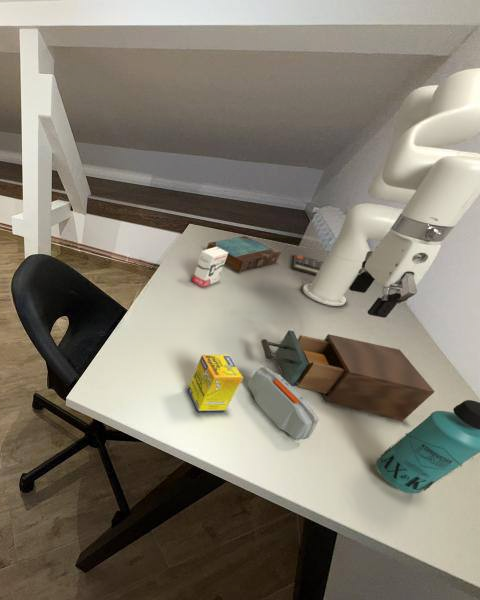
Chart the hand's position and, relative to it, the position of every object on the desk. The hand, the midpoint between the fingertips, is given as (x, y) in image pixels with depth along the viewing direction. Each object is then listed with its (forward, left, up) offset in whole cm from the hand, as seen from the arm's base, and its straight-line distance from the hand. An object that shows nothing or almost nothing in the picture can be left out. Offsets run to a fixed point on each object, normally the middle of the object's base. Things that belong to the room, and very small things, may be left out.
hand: (365, 302), depth 68 cm
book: (-51, -32, -19) cm, 63 cm away
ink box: (-20, -37, -19) cm, 46 cm away
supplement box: (+32, -20, -19) cm, 42 cm away
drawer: (+9, -5, -18) cm, 21 cm away
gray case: (+26, -8, -19) cm, 33 cm away
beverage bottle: (+27, +12, -19) cm, 35 cm away
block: (+9, -3, -17) cm, 19 cm away
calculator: (-64, -8, -19) cm, 68 cm away
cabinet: (+6, +6, -19) cm, 21 cm away
